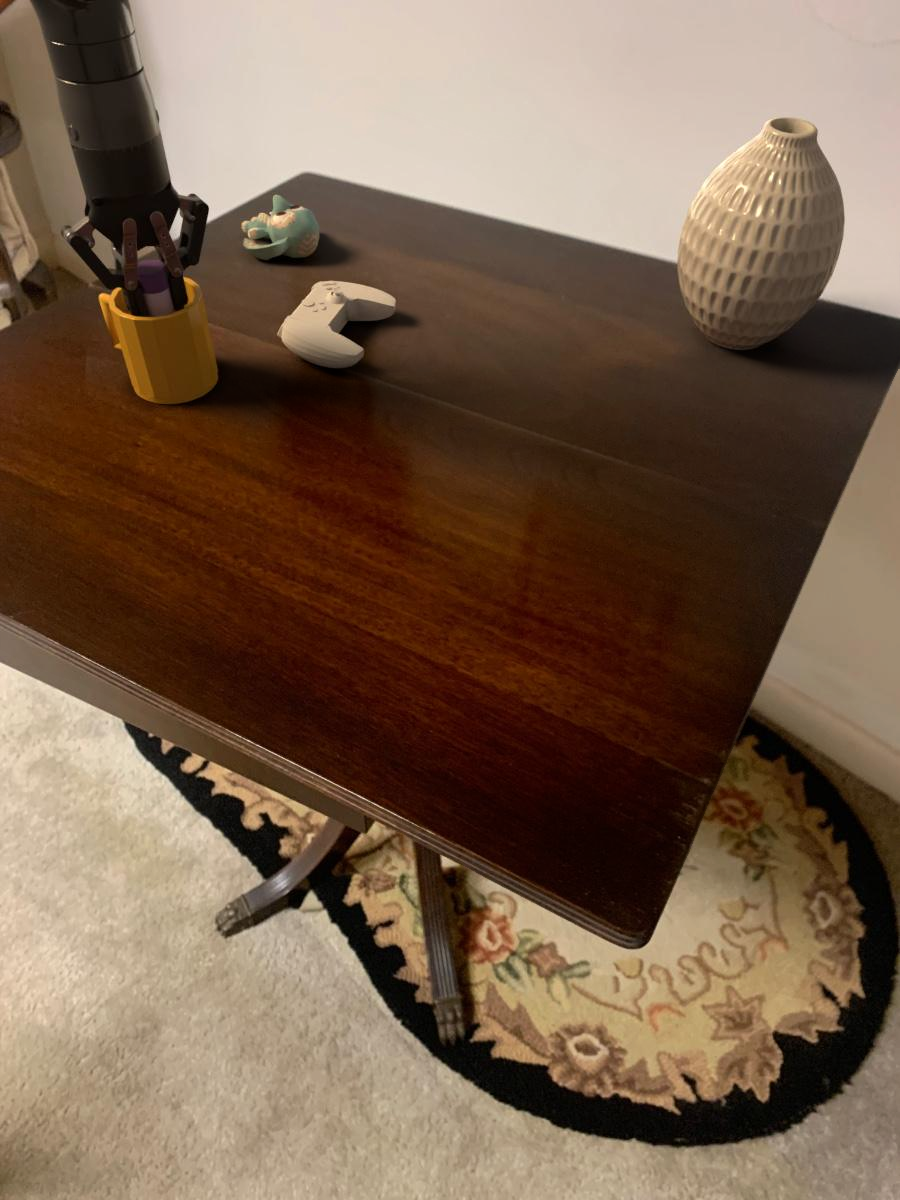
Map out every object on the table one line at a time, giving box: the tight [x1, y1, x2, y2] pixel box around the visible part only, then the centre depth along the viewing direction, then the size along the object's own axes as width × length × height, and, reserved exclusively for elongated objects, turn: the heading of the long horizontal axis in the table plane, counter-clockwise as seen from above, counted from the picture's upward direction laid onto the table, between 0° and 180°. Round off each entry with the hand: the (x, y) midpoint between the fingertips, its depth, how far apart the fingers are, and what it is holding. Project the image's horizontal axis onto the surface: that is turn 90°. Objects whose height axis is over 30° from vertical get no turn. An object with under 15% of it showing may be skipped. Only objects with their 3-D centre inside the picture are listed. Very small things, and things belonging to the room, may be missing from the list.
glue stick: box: [137, 259, 175, 317], centre depth 88 cm, size 3×3×10 cm
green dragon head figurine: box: [241, 194, 321, 261], centre depth 111 cm, size 11×7×12 cm
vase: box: [676, 116, 846, 351], centre depth 93 cm, size 16×16×22 cm
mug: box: [98, 276, 219, 405], centre depth 90 cm, size 12×9×10 cm
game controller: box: [276, 280, 397, 369], centre depth 98 cm, size 14×4×10 cm
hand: (159, 313), depth 88 cm, fingers closed on glue stick, 3 cm apart
